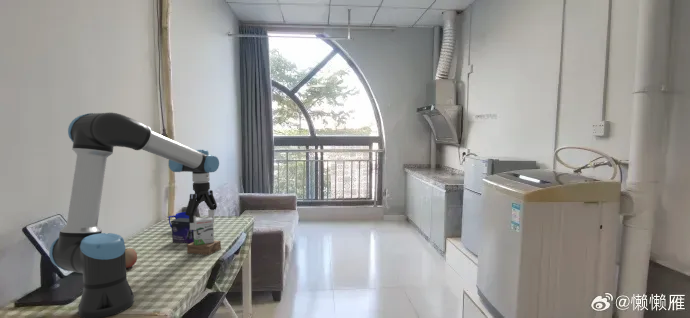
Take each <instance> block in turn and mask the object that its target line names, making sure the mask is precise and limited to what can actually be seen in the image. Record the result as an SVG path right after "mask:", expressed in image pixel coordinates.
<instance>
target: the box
mask: <svg viewBox="0 0 690 318" xmlns="http://www.w3.org/2000/svg"><path fill="white" fill-rule="evenodd" d="M170 223H171V226H172V228H171V237H172V238H171V239H172V243H174V244H175V243H176V244H186V245H188V244H190V243H192V242H194V230H190V223H189V218H178V219H176V218H175V219H173V220H170Z"/></svg>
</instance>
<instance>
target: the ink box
mask: <svg viewBox="0 0 690 318" xmlns="http://www.w3.org/2000/svg"><path fill="white" fill-rule="evenodd" d="M214 233H215V232H214V223H213V218H212V217H208V216H207V217H196V230H194V244H195V245H201V244H207V243H214V240H215V238H214V237H215V235H214Z"/></svg>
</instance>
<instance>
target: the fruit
mask: <svg viewBox="0 0 690 318" xmlns="http://www.w3.org/2000/svg"><path fill="white" fill-rule="evenodd" d="M125 258H126V269H129V268H131V267H133V266H134V265H135V264H136V263H137V260H138V254H137V252H136V250H135V249H133V248H131V247H127V248H126V249H125Z"/></svg>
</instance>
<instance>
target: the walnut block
mask: <svg viewBox="0 0 690 318" xmlns="http://www.w3.org/2000/svg"><path fill="white" fill-rule="evenodd" d="M221 245H222V243H221V240H215V239H214V243H207V244H201V245H195V244H194V242H192V243H190V244H186V249H187V251H186V252H187V254H192V253H194V254H195V255H205V256H210V255H212V254H214V253H216V252H218V251H220V250H221V249H222V246H221Z"/></svg>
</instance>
